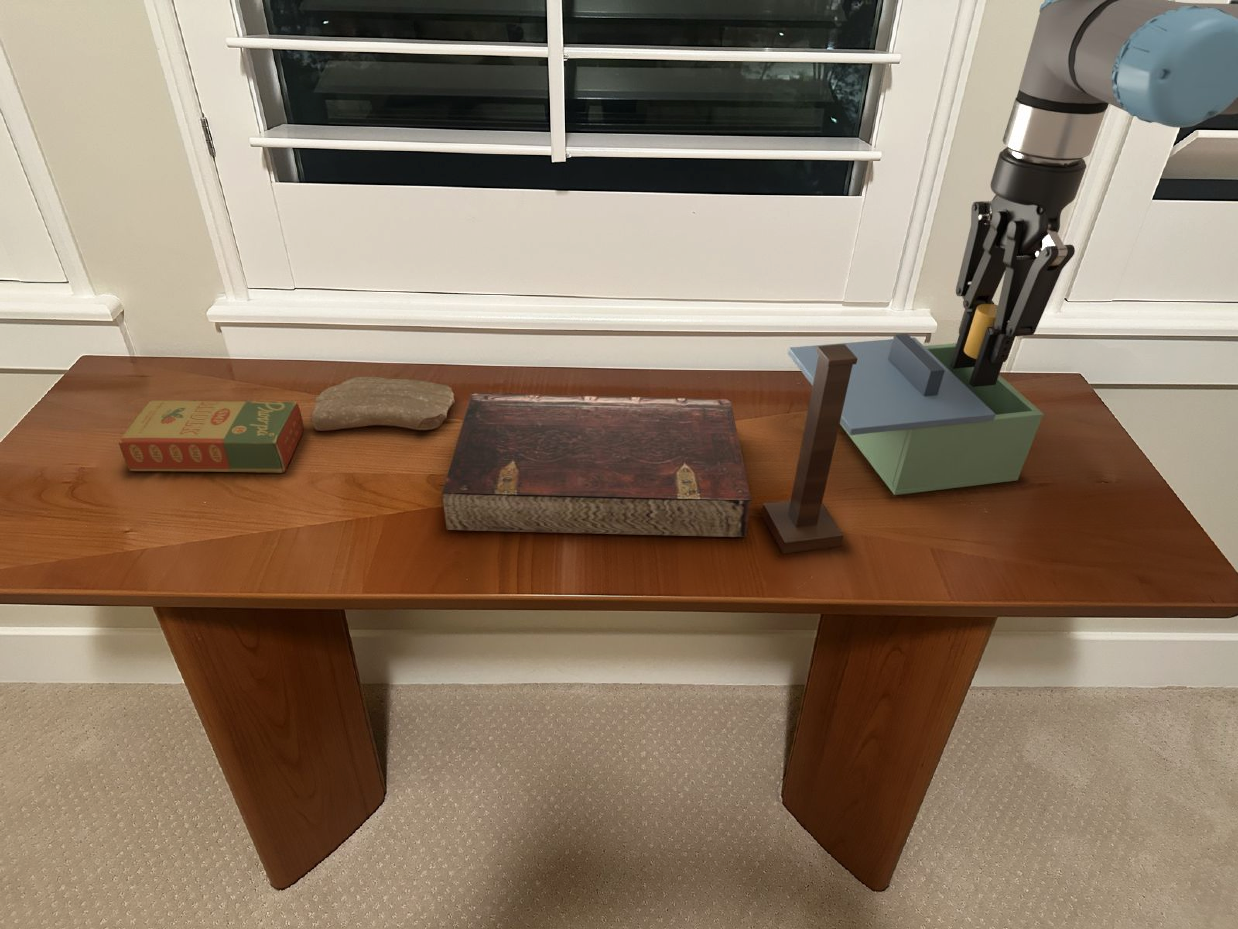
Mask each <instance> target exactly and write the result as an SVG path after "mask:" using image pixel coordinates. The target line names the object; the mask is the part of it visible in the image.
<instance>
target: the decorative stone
mask: <svg viewBox="0 0 1238 929" xmlns="http://www.w3.org/2000/svg"><path fill="white" fill-rule="evenodd" d="M454 394H455V393H454V392H453V390H452V387H451V386H449V385H446V384H442V383H437V382H431V381H425V380H415V379H411V378H403V379H400V378H394V379H393V378H383V377H379V376H356V377H352V378H350V379H348V380H344V381H343V382H341V383H339V384H337V385H334V386H330V387H328V388H325V389H324V390H323V391H322V392H320V394H319V395H318V396H317V397H315V405H314V410H313V411H312V412H311V419H310V420H311V423H312V426H313V428H314V430H316V431H319V432H322V431H323V432H325V431H326V432H327V431H335V430H336V431H337V430H341V429H342V430H344V429H355V428H362V427H369V426H389V427H390V426H391V427H400V428H404V429H405V428H406V429H410V430H417V431H429V430H434V429H438V428H439V427H441V425H443V423H444V421H445V420H446V419H447V417H448V411H449V410H450V409H451V407H452V406H453V405H454V404H455V395H454Z"/></svg>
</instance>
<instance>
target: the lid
mask: <svg viewBox="0 0 1238 929" xmlns="http://www.w3.org/2000/svg"><path fill="white" fill-rule="evenodd" d="M838 344H845V345H846V346H847V347H848V348H849V349H850V350H851V351H852V353H853V354H854V355H855V356H856V357H857V363H856V364H853V366H852V370H851V375H850V379H849V384H848V388H847V393H846V397H845V402H844V406H843V411H842V415H841V420H840V422H841V424H842V425H843V426H844V428H845V429H846V430H847V432H848V433H849V434H850V435H857V434H866V433H876V432H886V431H896V430H905V429H915V428H925V427H934V426H944V425H954V424H963V423H973V422H983V421H992V420H994V417H995V413H994V412H993V411H992V410H991V409H990V408H988V407H987V406H986V405H985V404H984V403H983V402H982V401H981V400H980V399H979V398H978V397H977V396H976V395H975V394H974V393H973V392H972V391H971V390H970V389H969V388H967V387H966V386H965V385H964V384H963V383H962V382H961V381H960V380H959V379H958V378H957V377H956V376H955V375H954V374H953V373H952V372H951V371H950V370H949V369H948V368H946V367H945V366H944V365H943V364H942V363H941V362H940V361H939V360H938V359H937V358H936V357H935V356H934V355H933V354H932V353H931V352H930V351H929V350H928V349H927V348H925V347H924V346H925V345H924V344H923V343H921V342H920V340H918V339H917V338H916V337H911V336H910V335H909V334H908V333H899V334H894V335H893V338H890V339H879V340H865V341H853V342H841V343H828V344H827V343H826V344H818V345H815V344H814V345H804V346H803V345H802V346H791V347H788V350H787V355H788V356H789V357H790V359H791V360H792V361H793V363H794V364H795V365H796V367H797V368H798V369H799V370H800V372H801V373H802V375H804V377H805V378H806V380H807V381H808V382H809V383H810V385H811V386H812V387H813V382H814V377H815V372H816V367H817V361H818V356H819V355H818V354H817V353H816V350H817V346H826V345H838ZM844 428H843V429H844ZM847 432H846V433H847Z"/></svg>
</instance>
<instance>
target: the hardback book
mask: <svg viewBox="0 0 1238 929" xmlns="http://www.w3.org/2000/svg"><path fill="white" fill-rule="evenodd" d="M738 434H739V433H738V429H737V424H736V419H735V414H734V410H733V405H732V400H731V399H723V398H720V399H719V398H690V397H689V398H686V397H652V396H651V397H649V396H646V397H645V396H641V397H640V396H613V395H612V396H609V395H608V396H607V395H575V394H573V395H571V394H536V393H534V394H533V393H498V392H497V393H496V392H495V393H494V392H493V393H491V392H471V394H470V398H469V400H468V404H467V408H466V411H465V414H464V417H463V420H462V424H461V427H460V431H459V434H458V437H457V441H456V444H455V447H454V451H453V453H452V456H451V457H452V458H451V461H450V464H449V467H448V471H447V474H446V478H445V481H444V485H443V488H442V491H441V495H442V504H443V511H444V519H445V525H446V526H445V528H446V530H447V531H477V532H479V531H482V532H515V533H517V532H518V533H519V532H520V533H559V534H560V533H562V534H601V535H604V534H605V535H640V536H641V535H642V536H644V535H645V536H681V537H683V536H684V537H685V536H687V537H721V538H723V537H727V538H729V537H730V538H746V536H747V529H748V523H749V516H750V510H751V503H752V498H751V493H750V487H749V483H748V478H747V474H746V473H747V472H746V469H745V464H744V458H743V454H742V448H741V443H740V440H739V435H738Z"/></svg>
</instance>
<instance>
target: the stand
mask: <svg viewBox="0 0 1238 929" xmlns="http://www.w3.org/2000/svg"><path fill="white" fill-rule="evenodd" d="M837 344H838V345H827V344H825V345H826V346H817V350H816V353H817V354H818V355H819V356H818V361H817V367H816V372H815V377H814V382H813V386H812V387H811V393H810V399H809V402H808V403H809V404H808V409H807V413H806V420H805V424H804V428H803V429H804V430H803V434H802V440H801V445H800V449H799V454H798V455H799V456H798V460H797V466H796V470H795V476H794V481H793V486H792V491H791V496H790V499H789V500H781V501H771V502H763V504H762V509H761V516H762V519H763V520H764V522H765V524H766V526H767V527H768V529H769V532H770V533H771V535H772V537H773V539H774V540H775V543H776V544H777V546H778V548H779V550H780V552H781V554H782V555H786V554H793V553H794V554H795V553H800V552H801V553H803V552H809V551H818V550H823V549H825V550H826V549H831V548H838V547H839V548H840V547H842V542H843V540H844V533H843V532H842V531H841V529H840V527H839V526H838V524H837V523H836V521H835V519H834V517H832V515H831V513H830V512H829V511H828V509H827V507H826V506H825V504H824V502H823V501H824V496H825V492H826V487H827V483H828V477H829V473H830V468H831V464H832V459H833V455H834V450H835V446H836V442H837V438H838V433H839V429H840V420H841V415H842V411H843V406H844V402H845V397H846V393H847V388H848V384H849V379H850V375H851V370H852V366H853V364H856V363H857V357H856V356H855V355H854V354H853V353H852V351H851V350H850V349H849V348H848V347H847V346H846V345H845V344H839V343H837Z"/></svg>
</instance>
